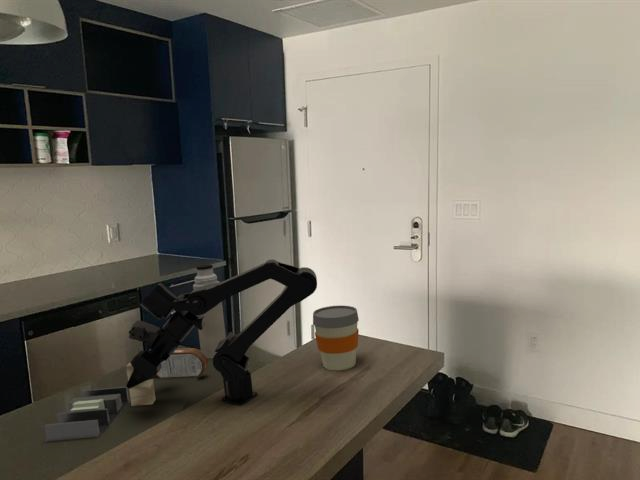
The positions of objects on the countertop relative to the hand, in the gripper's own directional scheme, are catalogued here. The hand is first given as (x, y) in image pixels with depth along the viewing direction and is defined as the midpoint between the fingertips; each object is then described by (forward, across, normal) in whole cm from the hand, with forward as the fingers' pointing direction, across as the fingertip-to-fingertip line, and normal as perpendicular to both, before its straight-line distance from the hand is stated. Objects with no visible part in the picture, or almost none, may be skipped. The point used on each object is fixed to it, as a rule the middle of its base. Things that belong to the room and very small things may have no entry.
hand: (134, 379), depth 120 cm
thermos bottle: (-3, -34, +14) cm, 37 cm away
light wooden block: (+4, 0, +6) cm, 7 cm away
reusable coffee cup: (-30, -16, +40) cm, 53 cm away
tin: (+1, -16, +10) cm, 19 cm away
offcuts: (+10, +7, -2) cm, 13 cm away
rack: (+11, +6, -1) cm, 13 cm away
